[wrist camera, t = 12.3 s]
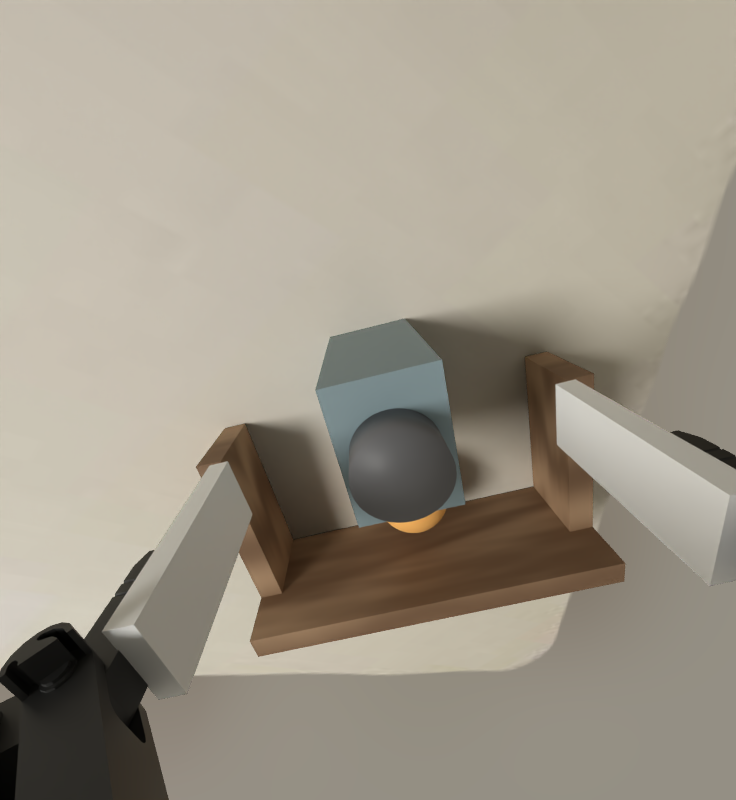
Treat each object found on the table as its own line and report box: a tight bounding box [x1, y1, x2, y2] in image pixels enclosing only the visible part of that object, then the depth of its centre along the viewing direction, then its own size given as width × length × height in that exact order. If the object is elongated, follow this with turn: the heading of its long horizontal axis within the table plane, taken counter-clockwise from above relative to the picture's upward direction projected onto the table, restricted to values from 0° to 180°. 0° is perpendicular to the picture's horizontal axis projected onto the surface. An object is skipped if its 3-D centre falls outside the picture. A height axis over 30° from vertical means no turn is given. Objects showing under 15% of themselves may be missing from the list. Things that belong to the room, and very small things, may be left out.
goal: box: [196, 352, 625, 657], centre depth 23 cm, size 12×23×8 cm, turn 103°
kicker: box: [316, 319, 465, 528], centre depth 18 cm, size 7×5×12 cm
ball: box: [388, 509, 446, 533], centre depth 25 cm, size 5×5×5 cm
